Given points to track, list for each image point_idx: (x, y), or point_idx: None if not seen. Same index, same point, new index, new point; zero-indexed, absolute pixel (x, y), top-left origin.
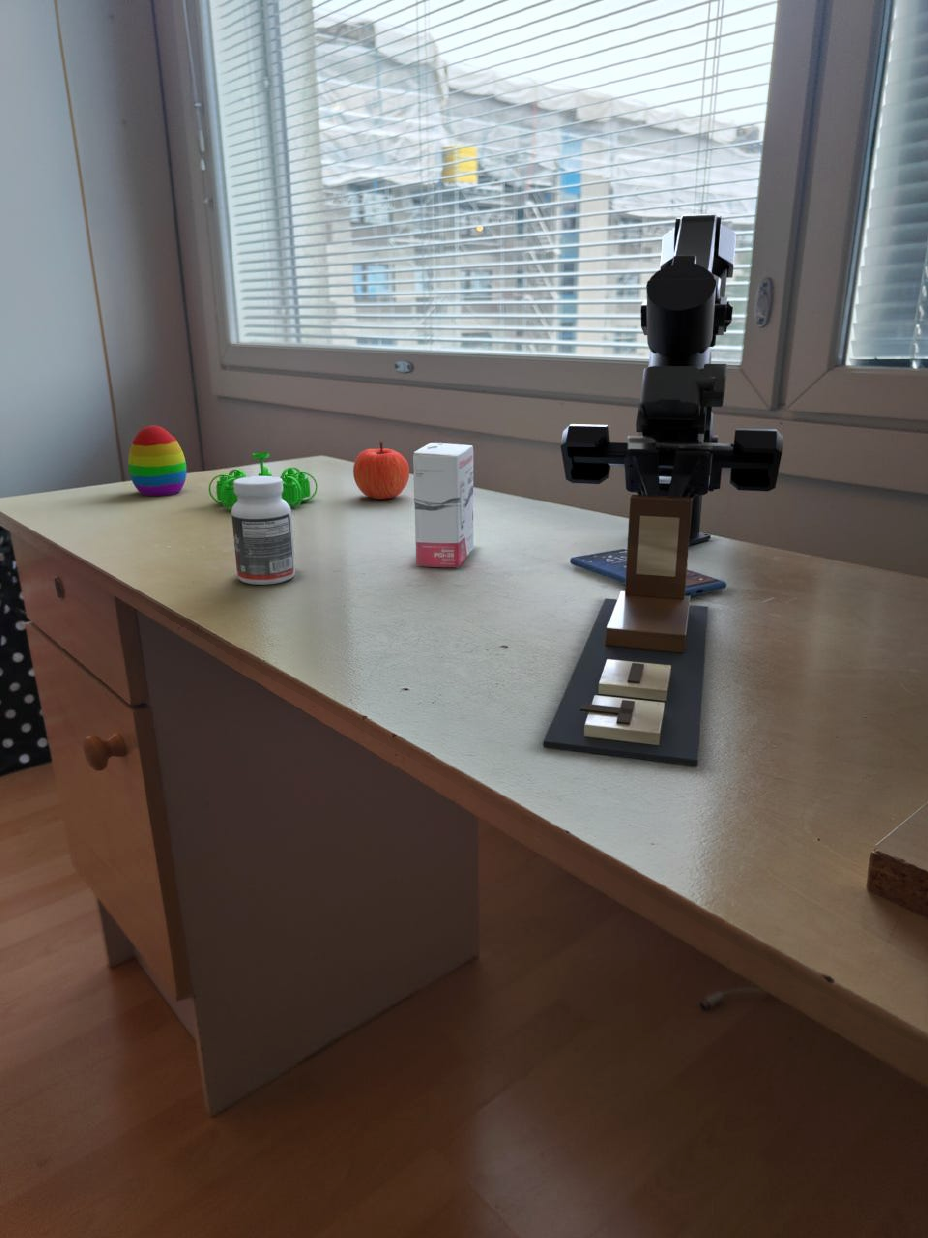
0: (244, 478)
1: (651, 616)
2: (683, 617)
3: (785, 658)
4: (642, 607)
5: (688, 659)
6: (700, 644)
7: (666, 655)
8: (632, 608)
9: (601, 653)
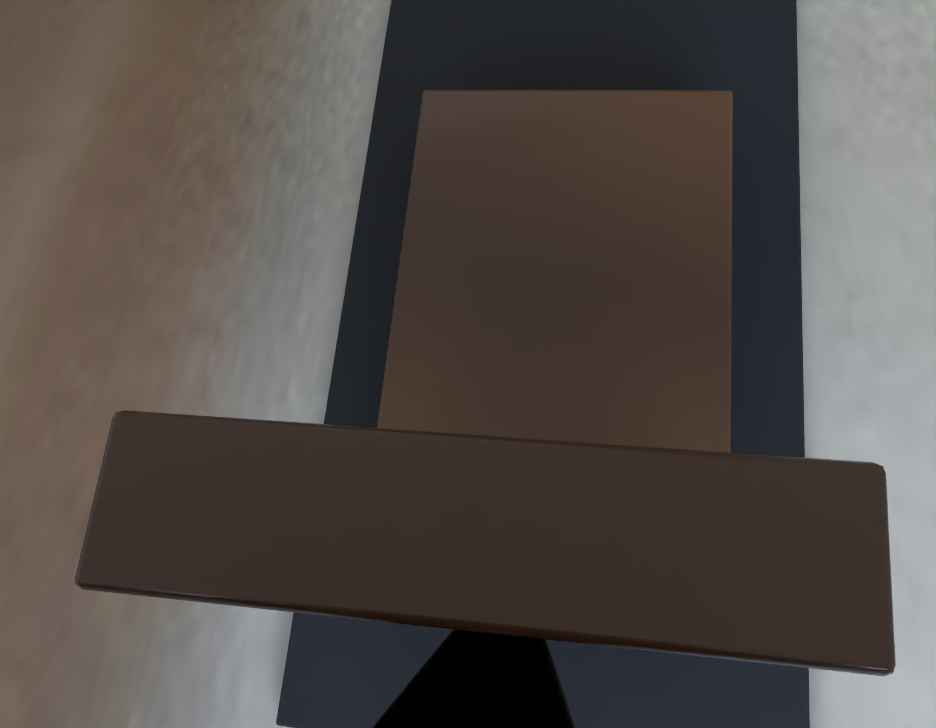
0: None
1: (551, 258)
2: (415, 272)
3: (112, 218)
4: (594, 375)
5: (426, 84)
6: (371, 222)
7: None
8: (641, 347)
9: (725, 67)
